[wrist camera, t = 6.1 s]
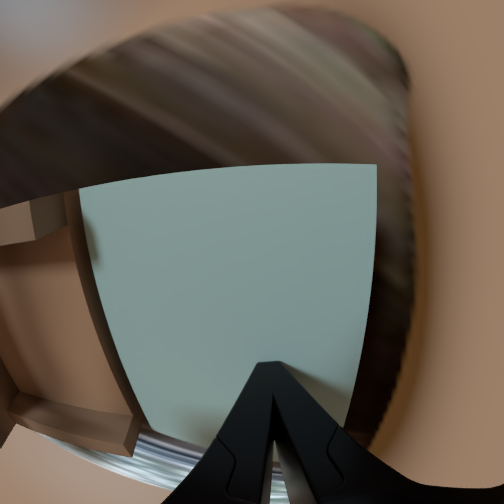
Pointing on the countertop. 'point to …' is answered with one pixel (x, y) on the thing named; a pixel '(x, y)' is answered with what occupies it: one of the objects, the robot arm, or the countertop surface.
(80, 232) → the wooden open crate
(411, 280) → the countertop surface
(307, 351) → the pale green rectangular panel
